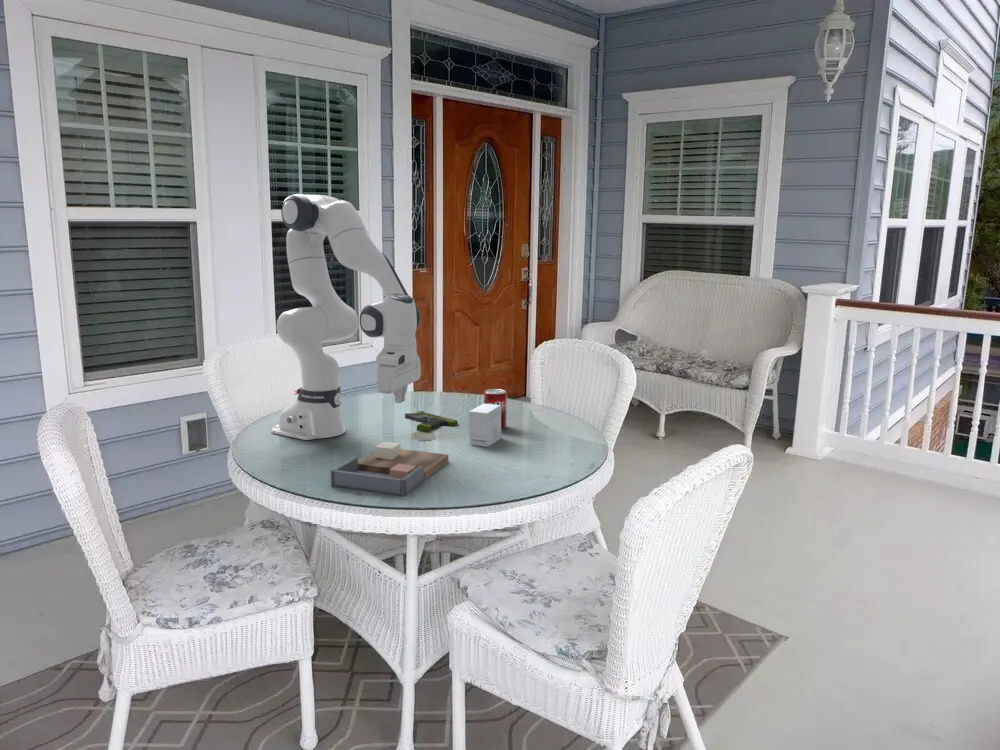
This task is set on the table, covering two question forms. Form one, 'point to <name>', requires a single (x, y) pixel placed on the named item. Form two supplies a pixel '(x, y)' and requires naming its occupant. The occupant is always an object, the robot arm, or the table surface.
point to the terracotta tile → (401, 471)
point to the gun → (429, 420)
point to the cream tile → (387, 450)
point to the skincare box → (485, 425)
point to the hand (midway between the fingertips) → (400, 401)
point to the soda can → (497, 402)
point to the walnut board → (405, 462)
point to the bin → (374, 479)
